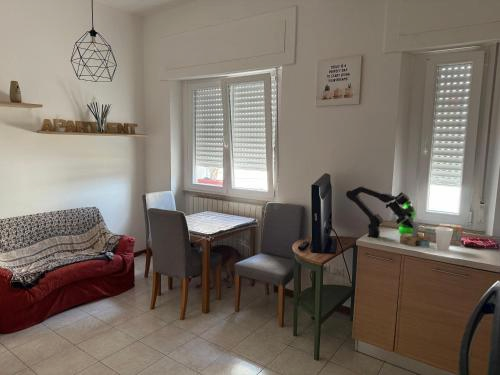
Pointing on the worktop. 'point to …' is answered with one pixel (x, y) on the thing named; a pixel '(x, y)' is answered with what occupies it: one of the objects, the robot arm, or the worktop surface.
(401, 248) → the worktop surface
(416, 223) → the pusher
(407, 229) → the plastic bottle
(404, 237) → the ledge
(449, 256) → the worktop surface
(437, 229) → the foam cup
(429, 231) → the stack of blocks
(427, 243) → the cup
